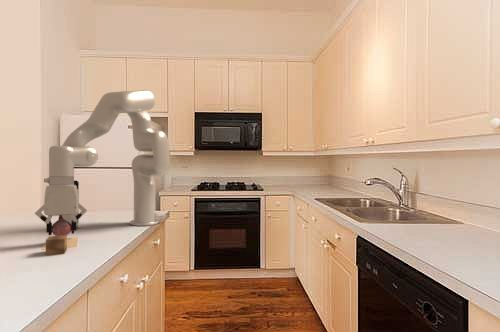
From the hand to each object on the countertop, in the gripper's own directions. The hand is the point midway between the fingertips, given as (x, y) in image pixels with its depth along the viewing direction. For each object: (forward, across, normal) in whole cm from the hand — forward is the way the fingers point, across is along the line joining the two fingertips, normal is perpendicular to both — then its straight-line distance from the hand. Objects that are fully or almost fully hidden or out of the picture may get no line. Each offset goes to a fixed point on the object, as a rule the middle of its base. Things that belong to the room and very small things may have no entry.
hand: (61, 233), depth 116 cm
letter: (+4, 0, 0) cm, 4 cm away
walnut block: (+4, -1, -13) cm, 13 cm away
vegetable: (+2, 0, 0) cm, 2 cm away
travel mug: (+4, +2, +27) cm, 27 cm away
